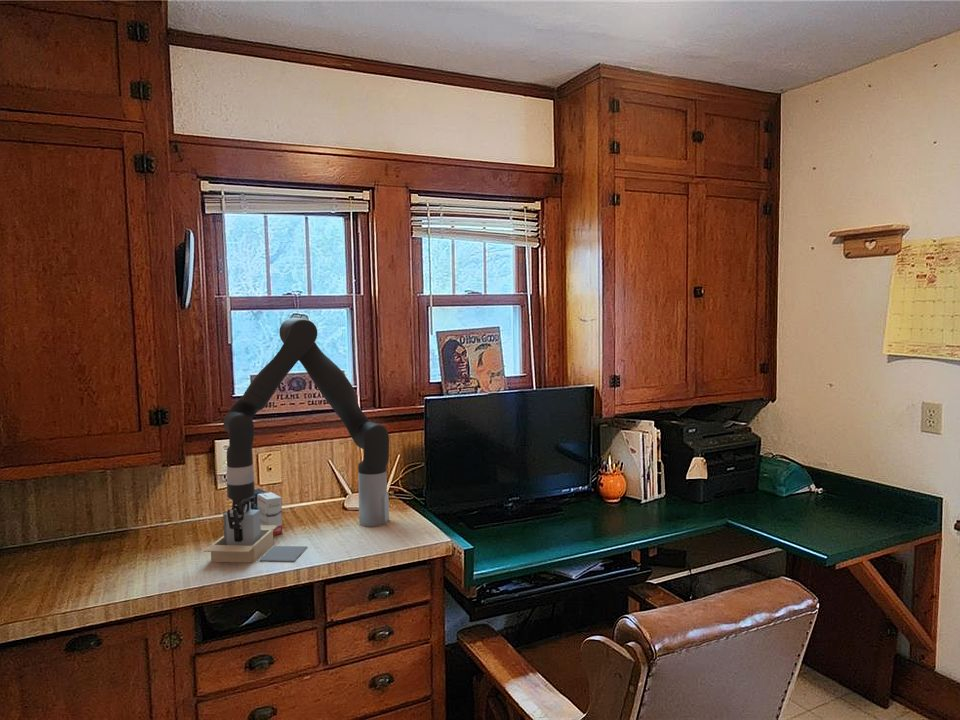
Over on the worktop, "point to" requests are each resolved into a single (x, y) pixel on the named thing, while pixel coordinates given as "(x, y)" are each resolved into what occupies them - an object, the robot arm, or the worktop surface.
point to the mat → (283, 554)
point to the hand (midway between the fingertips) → (242, 537)
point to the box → (244, 529)
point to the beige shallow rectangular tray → (242, 548)
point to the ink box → (270, 510)
